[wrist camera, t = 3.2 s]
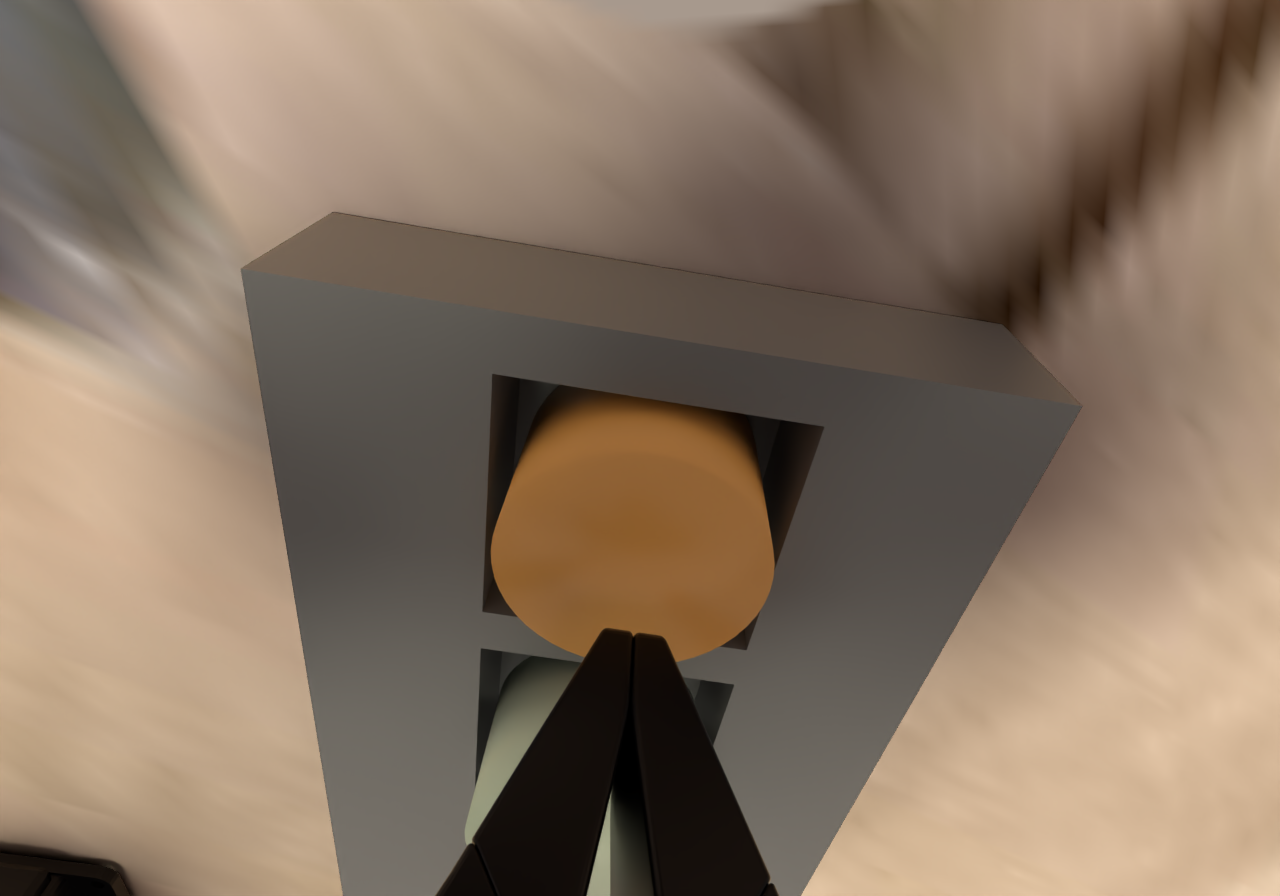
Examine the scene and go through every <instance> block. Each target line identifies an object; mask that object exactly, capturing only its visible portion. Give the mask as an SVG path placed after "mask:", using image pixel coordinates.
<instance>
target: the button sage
mask: <svg viewBox="0 0 1280 896" xmlns="http://www.w3.org/2000/svg"><path fill="white" fill-rule="evenodd" d="M580 664H581V662H574V661H567V660H560V659H553V658H546V657H539V656H531V657H529V658H527V659H525V660H524V661H522V662H521V663H520V664H519V665H517V666H516V667H515V668H514V669H513V670H512V671H511V672H510V673H509V675H508V676H507V678H506V679H505V681H504V683H503V686H502V688H501V692H500V695H499V699H498V703H497V707H496V711H495V715H494V718H493V722H492V726H491V730H490V734H489V738H488V741H487V745H486V749H485V753H484V757H483V760H482V764H481V768H480V772H479V776H478V780H477V783H476V787H475V791H474V795H473V799H472V802H471V806H470V810H469V814H468V818H467V822H466V826H465V832H464V833H465V842H466V845H468V844H470V843H472V838H473V836H474V834H475V833H476V831H477V830H478V828H479V826H480V825H481V823H482V822H483V820H484V818H485V817H486V815H487V813H488V812H489V810H490V809H491V807H492V805H493V804H494V802H495V801H496V799H497V797H498V796H499V794H500V793H501V791H502V789H503V788H504V786H505V785H506V783H507V781H508V780H509V778H510V777H511V775H512V773H513V772H514V770H515V768H516V767H517V765H518V764H519V762H520V760H521V759H522V757H523V756H524V754H525V752H526V751H527V749H528V748H529V746H530V744H531V743H532V741H533V740H534V738H535V736H536V735H537V733H538V732H539V730H540V728H541V727H542V725H543V724H544V722H545V720H546V719H547V717H548V715H549V714H550V712H551V711H552V709H553V707H554V706H555V704H556V703H557V701H558V699H559V698H560V696H561V695H562V693H563V691H564V690H565V688H566V687H567V685H568V683H569V682H570V680H571V679H572V677H573V675H574V674H575V672H576V670H577V669H578V667H579V666H580ZM686 686H687V685H686ZM687 688H688V687H687ZM688 690H689V688H688ZM689 693H690V695H691V697H692V700H693V702H694V699H693V696H692V694H691V692H690V690H689ZM694 704H695V702H694ZM610 805H611V795H610V799H609V804H608V808H607V812H606V817H605V821H604V825H603V829H602V834H601V838H600V842H599V846H598V851H597V855H596V859H595V863H594V868H593V872H592V876H591V880H590V885H589V889H588V893H587V896H610Z"/></svg>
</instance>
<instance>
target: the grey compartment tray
mask: <svg viewBox="0 0 1280 896" xmlns="http://www.w3.org/2000/svg"><path fill="white" fill-rule="evenodd" d="M241 273H242V279H243V285H244V292H245V298H246V304H247V310H248V316H249V322H250V328H251V334H252V341H253V347H254V353H255V359H256V365H257V371H258V377H259V383H260V389H261V396H262V402H263V408H264V414H265V420H266V426H267V432H268V438H269V445H270V451H271V457H272V463H273V469H274V475H275V481H276V487H277V493H278V500H279V506H280V512H281V518H282V524H283V530H284V536H285V542H286V549H287V555H288V561H289V567H290V573H291V579H292V585H293V591H294V598H295V604H296V610H297V616H298V622H299V628H300V634H301V640H302V646H303V653H304V659H305V665H306V671H307V677H308V683H309V689H310V695H311V702H312V708H313V714H314V720H315V726H316V732H317V738H318V744H319V750H320V757H321V763H322V769H323V775H324V781H325V787H326V793H327V799H328V806H329V812H330V818H331V824H332V830H333V836H334V842H335V848H336V855H337V861H338V867H339V873H340V879H341V885H342V891H343V896H435V895H436V893H437V892H438V890H439V889H440V887H441V886H442V884H443V883H444V881H445V880H446V878H447V877H448V875H449V874H450V872H451V871H452V869H453V867H454V866H455V864H456V863H457V861H458V859H459V858H460V856H461V855H462V853H463V851H464V850H465V848H466V847H467V845H466V842H465V833H464V832H465V826H466V822H467V818H468V814H469V810H470V806H471V802H472V799H473V795H474V791H475V787H476V783H477V780H478V776H479V772H480V768H481V764H482V760H483V757H484V753H485V749H486V745H487V741H488V738H489V734H490V730H491V726H492V722H493V718H494V715H495V711H496V707H497V703H498V699H499V695H500V692H501V688H502V686H503V683H504V681H505V679H506V678H507V676H508V675H509V673H510V672H511V671H512V670H513V669H514V668H515V667H516V666H517V665H519V664H520V663H521V662H522V661H524V660H525V659H527V658H529V657H531V656H539V657H546V658H553V659H560V660H567V661H574V662H582V661H583V659H584V658H585V657H582V656H579V655H577V654H574V653H571V652H569V651H566V650H564V649H562V648H560V647H558V646H556V645H554V644H552V643H550V642H549V641H547V640H546V639H544V638H543V637H541V636H539V635H538V634H537V633H535V632H534V631H533V630H532V629H530V628H529V627H528V626H527V625H525V624H524V623H523V622H522V621H521V620H520V619H519V618H518V616H517V615H516V614H515V613H514V612H513V611H512V609H511V608H510V607H509V605H508V604H507V603H506V601H505V599H504V598H503V596H502V594H501V592H500V591H499V588H498V586H497V583H496V580H495V578H494V574H493V569H492V564H491V544H492V537H493V533H494V530H495V527H496V524H497V521H498V518H499V515H500V512H501V509H502V506H503V504H504V501H505V498H506V495H507V492H508V489H509V487H510V484H511V481H512V478H513V475H514V472H515V470H516V467H517V464H518V461H519V458H520V455H521V453H522V450H523V447H524V444H525V441H526V438H527V436H528V433H529V430H530V427H531V424H532V421H533V419H534V417H535V415H536V413H537V411H538V409H539V408H540V406H541V405H542V404H543V402H544V401H545V399H546V398H547V397H548V396H549V395H550V394H551V393H552V392H553V391H554V390H555V389H556V388H557V387H558V386H559V385H566V386H572V387H578V388H585V389H591V390H597V391H603V392H610V393H616V394H622V395H628V396H635V397H641V398H647V399H654V400H660V401H666V402H672V403H679V404H685V405H691V406H697V407H704V408H710V409H716V410H722V411H729V412H735V413H741V414H745V416H746V417H747V419H748V422H749V424H750V426H751V428H752V431H753V435H754V439H755V442H756V448H757V454H758V460H759V466H760V472H761V478H762V484H763V490H764V497H765V503H766V509H767V515H768V521H769V527H770V533H771V539H772V545H773V552H774V562H775V565H774V578H773V582H772V585H771V589H770V592H769V595H768V597H767V599H766V601H765V603H764V605H763V607H762V608H761V610H760V611H759V613H758V614H757V616H756V617H755V618H754V619H753V620H752V621H751V623H750V624H749V625H748V626H747V627H746V628H745V629H744V630H742V631H741V632H740V633H739V634H738V635H737V636H735V637H734V638H732V639H731V640H729V641H728V642H726V643H725V644H723V645H721V646H719V647H717V648H715V649H713V650H711V651H710V652H707V653H704V654H702V655H699V656H696V657H694V658H690V659H686V660H683V661H679V662H676V663H677V666H678V668H679V670H680V672H681V675H682V677H683V679H684V681H685V684H686V685H687V687H688V688H689V690H690V692H691V694H692V696H693V699H694V702H695V706H696V709H697V711H698V713H699V715H700V718H701V720H702V722H703V724H704V727H705V729H706V731H707V734H708V736H709V738H710V740H711V743H712V745H713V747H714V749H715V752H716V754H717V756H718V758H719V761H720V763H721V765H722V767H723V770H724V772H725V774H726V777H727V779H728V781H729V783H730V786H731V788H732V790H733V792H734V795H735V797H736V799H737V801H738V804H739V806H740V808H741V810H742V813H743V815H744V817H745V820H746V822H747V824H748V826H749V829H750V831H751V833H752V835H753V838H754V840H755V842H756V844H757V847H758V849H759V851H760V853H761V856H762V858H763V860H764V863H765V865H766V867H767V869H768V872H769V874H770V876H771V880H770V882H769V883H773V884H774V885H775V887H776V889H777V891H778V893H779V896H801V894H802V893H803V891H804V889H805V887H806V886H807V884H808V882H809V880H810V879H811V877H812V875H813V874H814V872H815V870H816V868H817V867H818V865H819V863H820V861H821V860H822V858H823V856H824V854H825V853H826V851H827V849H828V847H829V846H830V844H831V842H832V840H833V839H834V837H835V835H836V834H837V832H838V830H839V828H840V827H841V825H842V823H843V821H844V820H845V818H846V816H847V814H848V813H849V811H850V809H851V807H852V806H853V804H854V802H855V801H856V799H857V797H858V795H859V794H860V792H861V790H862V788H863V787H864V785H865V783H866V781H867V780H868V778H869V776H870V774H871V773H872V771H873V769H874V768H875V766H876V764H877V762H878V761H879V759H880V757H881V755H882V754H883V752H884V750H885V748H886V747H887V745H888V743H889V741H890V740H891V738H892V736H893V735H894V733H895V731H896V729H897V728H898V726H899V724H900V722H901V721H902V719H903V717H904V715H905V714H906V712H907V710H908V708H909V707H910V705H911V703H912V702H913V700H914V698H915V696H916V695H917V693H918V691H919V689H920V688H921V686H922V684H923V682H924V681H925V679H926V677H927V675H928V674H929V672H930V670H931V668H932V667H933V665H934V663H935V662H936V660H937V658H938V656H939V655H940V653H941V651H942V649H943V648H944V646H945V644H946V642H947V641H948V639H949V637H950V635H951V634H952V632H953V630H954V629H955V627H956V625H957V623H958V622H959V620H960V618H961V616H962V615H963V613H964V611H965V609H966V608H967V606H968V604H969V602H970V601H971V599H972V597H973V596H974V594H975V592H976V590H977V589H978V587H979V585H980V583H981V582H982V580H983V578H984V576H985V575H986V573H987V571H988V569H989V568H990V566H991V564H992V563H993V561H994V559H995V557H996V556H997V554H998V552H999V550H1000V549H1001V547H1002V545H1003V543H1004V542H1005V540H1006V538H1007V536H1008V535H1009V533H1010V531H1011V530H1012V528H1013V526H1014V524H1015V523H1016V521H1017V519H1018V517H1019V516H1020V514H1021V512H1022V510H1023V509H1024V507H1025V505H1026V503H1027V502H1028V500H1029V498H1030V496H1031V495H1032V493H1033V491H1034V490H1035V488H1036V486H1037V484H1038V483H1039V481H1040V479H1041V477H1042V476H1043V474H1044V472H1045V470H1046V469H1047V467H1048V465H1049V463H1050V462H1051V460H1052V458H1053V457H1054V455H1055V453H1056V451H1057V450H1058V448H1059V446H1060V444H1061V443H1062V441H1063V439H1064V437H1065V436H1066V434H1067V432H1068V430H1069V429H1070V427H1071V425H1072V424H1073V422H1074V420H1075V418H1076V417H1077V415H1078V413H1079V411H1080V410H1081V408H1082V405H1081V404H1080V403H1079V402H1078V401H1077V400H1076V399H1075V398H1074V397H1073V396H1072V395H1071V394H1070V393H1069V392H1068V391H1067V390H1066V389H1065V388H1064V387H1063V386H1062V385H1061V384H1060V383H1059V382H1058V381H1057V380H1056V379H1055V378H1054V377H1053V376H1052V375H1051V373H1050V372H1049V371H1048V370H1047V369H1046V368H1045V367H1044V366H1043V365H1042V364H1041V363H1040V362H1039V361H1038V360H1037V359H1036V358H1035V357H1034V356H1033V355H1032V354H1031V353H1030V352H1029V351H1028V350H1027V349H1026V348H1025V347H1024V346H1023V345H1022V344H1021V343H1020V342H1019V341H1018V340H1017V339H1016V338H1015V337H1014V336H1013V335H1012V334H1011V333H1010V332H1009V331H1008V330H1007V329H1006V328H1005V327H1004V326H1003V325H1002V324H997V323H991V322H985V321H979V320H973V319H967V318H961V317H955V316H949V315H943V314H937V313H931V312H925V311H919V310H913V309H907V308H902V307H896V306H890V305H884V304H878V303H872V302H866V301H860V300H854V299H848V298H842V297H836V296H830V295H824V294H818V293H812V292H806V291H800V290H794V289H788V288H782V287H776V286H770V285H764V284H758V283H752V282H746V281H740V280H734V279H728V278H722V277H716V276H710V275H704V274H698V273H692V272H686V271H680V270H674V269H669V268H663V267H657V266H651V265H645V264H639V263H633V262H627V261H621V260H615V259H609V258H603V257H597V256H591V255H585V254H579V253H573V252H567V251H561V250H555V249H549V248H543V247H537V246H531V245H525V244H519V243H513V242H507V241H501V240H495V239H489V238H483V237H477V236H471V235H465V234H459V233H453V232H447V231H441V230H436V229H430V228H424V227H418V226H412V225H406V224H400V223H394V222H388V221H382V220H376V219H370V218H364V217H358V216H352V215H346V214H340V213H334V212H332V213H331V214H329V215H327V216H326V217H324V218H322V219H321V220H319V221H318V222H316V223H314V224H313V225H311V226H309V227H308V228H306V229H305V230H303V231H301V232H300V233H298V234H296V235H295V236H293V237H292V238H290V239H288V240H287V241H285V242H283V243H282V244H280V245H279V246H277V247H275V248H274V249H272V250H270V251H269V252H267V253H265V254H264V255H262V256H261V257H259V258H257V259H256V260H254V261H252V262H251V263H249V264H248V265H246V266H244V267H243V268H241Z"/></svg>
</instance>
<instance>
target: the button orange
mask: <svg viewBox="0 0 1280 896" xmlns="http://www.w3.org/2000/svg"><path fill="white" fill-rule="evenodd" d="M491 564H492V569H493V574H494V578H495V580H496V583H497V586H498V588H499V591H500V592H501V594H502V596H503V598H504V599H505V601H506V603H507V604H508V605H509V607H510V608H511V609H512V611H513V612H514V613H515V614H516V615H517V616H518V618H519V619H520V620H521V621H522V622H523V623H524V624H525V625H527V626H528V627H529V628H530V629H532V630H533V631H534V632H535V633H537V634H538V635H539V636H541V637H543V638H544V639H546V640H547V641H549V642H550V643H552V644H554V645H556V646H558V647H560V648H562V649H564V650H566V651H569V652H571V653H574V654H577V655H579V656H582V657H585V656H586V654H587V653H588V651H589V650H590V648H591V646H592V645H593V643H594V642H595V640H596V638H597V637H598V635H599V634H600V632H601V631H602V630H603V629H604V628H613V629H620V630H627V631H630V632H631V633H632V634H633V636H634V635H635V634H636V633H639V632H640V633H647V634H654V635H660V636H662V637H664V638H665V639H666V641H667V643H668V645H669V647H670V650H671V652H672V654H673V657H674V659H675V661H676V662H679V661H683V660H686V659H690V658H694V657H696V656H699V655H702V654H704V653H707V652H710V651H711V650H713V649H715V648H717V647H719V646H721V645H723V644H725V643H726V642H728V641H729V640H731V639H732V638H734V637H735V636H737V635H738V634H739V633H740V632H741V631H742V630H744V629H745V628H746V627H747V626H748V625H749V624H750V623H751V621H752V620H753V619H754V618H755V617H756V616H757V614H758V613H759V611H760V610H761V608H762V607H763V605H764V603H765V601H766V599H767V597H768V595H769V592H770V589H771V585H772V582H773V578H774V565H775V562H774V552H773V545H772V539H771V533H770V527H769V521H768V515H767V509H766V503H765V497H764V490H763V484H762V478H761V472H760V466H759V460H758V454H757V448H756V442H755V439H754V435H753V431H752V428H751V426H750V424H749V422H748V419H747V417H746V416H745V414H741V413H735V412H729V411H722V410H716V409H710V408H704V407H697V406H691V405H685V404H679V403H672V402H666V401H660V400H654V399H647V398H641V397H635V396H628V395H622V394H616V393H610V392H603V391H597V390H591V389H585V388H578V387H572V386H566V385H559V386H558V387H557V388H556V389H555V390H554V391H553V392H552V393H551V394H550V395H549V396H548V397H547V398H546V399H545V401H544V402H543V404H542V405H541V406H540V408H539V409H538V411H537V413H536V415H535V417H534V419H533V421H532V424H531V427H530V430H529V433H528V436H527V438H526V441H525V444H524V447H523V450H522V453H521V455H520V458H519V461H518V464H517V467H516V470H515V472H514V475H513V478H512V481H511V484H510V487H509V489H508V492H507V495H506V498H505V501H504V504H503V506H502V509H501V512H500V515H499V518H498V521H497V524H496V527H495V530H494V533H493V537H492V544H491Z"/></svg>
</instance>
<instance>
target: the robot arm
mask: <svg viewBox="0 0 1280 896" xmlns="http://www.w3.org/2000/svg"><path fill="white" fill-rule="evenodd" d="M610 795H611V805H610V896H779V893H778V891H777V889H776V887H775V885H774V884H773V883H769V882H770V880H771V876H770V874H769V872H768V869H767V867H766V865H765V863H764V860H763V858H762V856H761V853H760V851H759V849H758V847H757V844H756V842H755V840H754V838H753V835H752V833H751V831H750V829H749V826H748V824H747V822H746V820H745V817H744V815H743V813H742V810H741V808H740V806H739V804H738V801H737V799H736V797H735V795H734V792H733V790H732V788H731V786H730V783H729V781H728V779H727V777H726V774H725V772H724V770H723V767H722V765H721V763H720V761H719V758H718V756H717V754H716V752H715V749H714V747H713V745H712V743H711V740H710V738H709V736H708V734H707V731H706V729H705V727H704V724H703V722H702V720H701V718H700V715H699V713H698V711H697V709H696V706H695V704H694V702H693V700H692V697H691V695H690V693H689V690H688V688H687V686H686V684H685V681H684V679H683V677H682V675H681V672H680V670H679V668H678V666H677V663H676V661H675V659H674V657H673V654H672V652H671V650H670V647H669V645H668V643H667V641H666V639H665V638H664V637H662V636H660V635H654V634H647V633H640V632H639V633H636V634H635V635H634V636H633V634H632V633H631V632H630V631H627V630H620V629H613V628H604V629H603V630H602V631H601V632H600V634H599V635H598V637H597V638H596V640H595V642H594V643H593V645H592V646H591V648H590V650H589V651H588V653H587V654H586V656H585V658H584V659H583V661H582V662H581V664H580V666H579V667H578V669H577V670H576V672H575V674H574V675H573V677H572V679H571V680H570V682H569V683H568V685H567V687H566V688H565V690H564V691H563V693H562V695H561V696H560V698H559V699H558V701H557V703H556V704H555V706H554V707H553V709H552V711H551V712H550V714H549V715H548V717H547V719H546V720H545V722H544V724H543V725H542V727H541V728H540V730H539V732H538V733H537V735H536V736H535V738H534V740H533V741H532V743H531V744H530V746H529V748H528V749H527V751H526V752H525V754H524V756H523V757H522V759H521V760H520V762H519V764H518V765H517V767H516V768H515V770H514V772H513V773H512V775H511V777H510V778H509V780H508V781H507V783H506V785H505V786H504V788H503V789H502V791H501V793H500V794H499V796H498V797H497V799H496V801H495V802H494V804H493V805H492V807H491V809H490V810H489V812H488V813H487V815H486V817H485V818H484V820H483V822H482V823H481V825H480V826H479V828H478V830H477V831H476V833H475V834H474V836H473V838H472V843H470V844H468V845H467V847H466V848H465V850H464V851H463V853H462V855H461V856H460V858H459V859H458V861H457V863H456V864H455V866H454V867H453V869H452V871H451V872H450V874H449V875H448V877H447V878H446V880H445V881H444V883H443V884H442V886H441V887H440V889H439V890H438V892H437V893H436V895H435V896H587V893H588V889H589V885H590V880H591V876H592V872H593V868H594V863H595V859H596V855H597V851H598V846H599V842H600V838H601V834H602V829H603V825H604V821H605V817H606V812H607V808H608V804H609V799H610ZM0 896H130V895H129V893H128V891H127V889H126V887H125V885H124V883H123V881H122V879H121V877H120V875H119V874H118V873H117V872H116V871H115V870H113V869H111V868H108V867H104V866H98V865H91V864H83V863H75V862H67V861H59V860H52V859H44V858H36V857H28V856H20V855H13V854H5V853H0Z"/></svg>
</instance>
